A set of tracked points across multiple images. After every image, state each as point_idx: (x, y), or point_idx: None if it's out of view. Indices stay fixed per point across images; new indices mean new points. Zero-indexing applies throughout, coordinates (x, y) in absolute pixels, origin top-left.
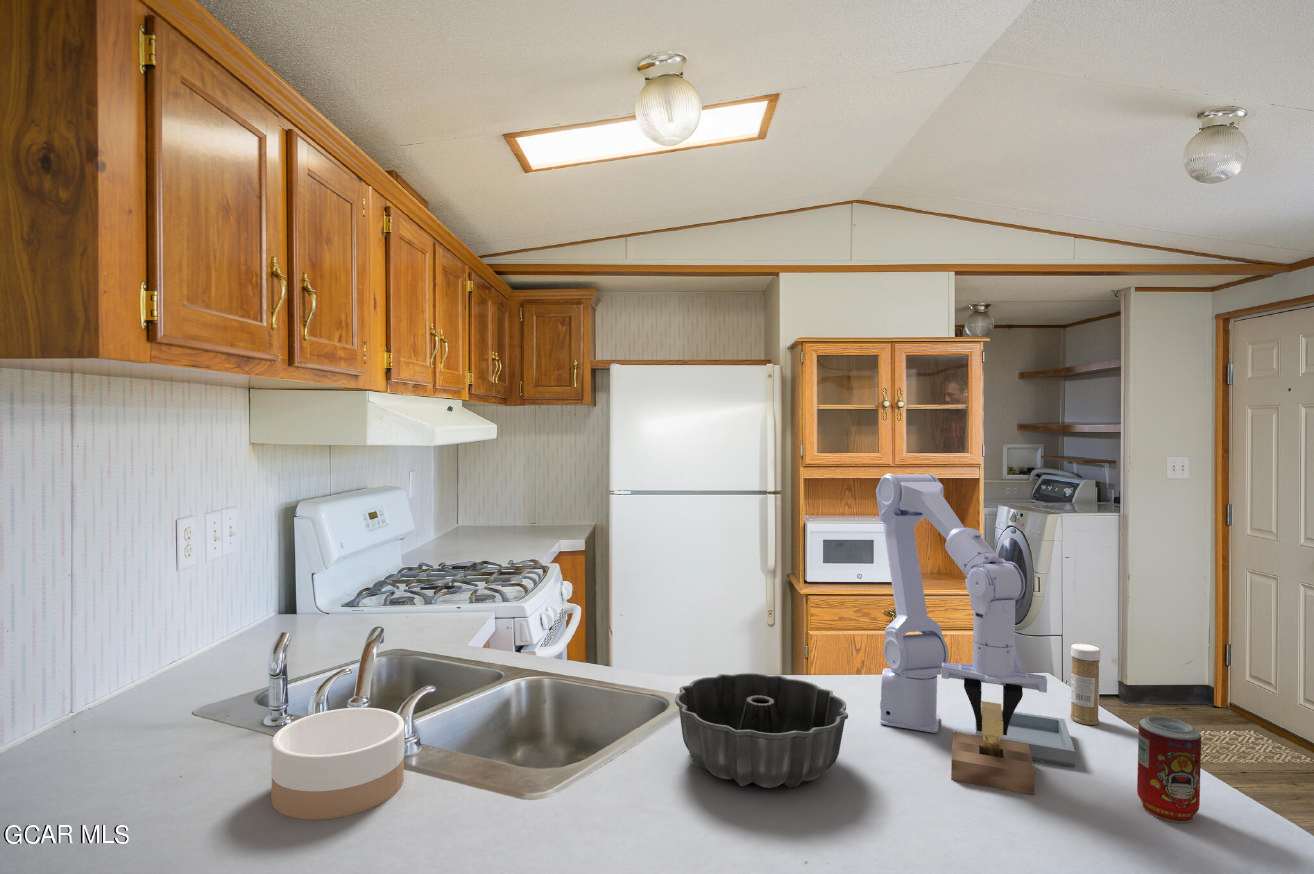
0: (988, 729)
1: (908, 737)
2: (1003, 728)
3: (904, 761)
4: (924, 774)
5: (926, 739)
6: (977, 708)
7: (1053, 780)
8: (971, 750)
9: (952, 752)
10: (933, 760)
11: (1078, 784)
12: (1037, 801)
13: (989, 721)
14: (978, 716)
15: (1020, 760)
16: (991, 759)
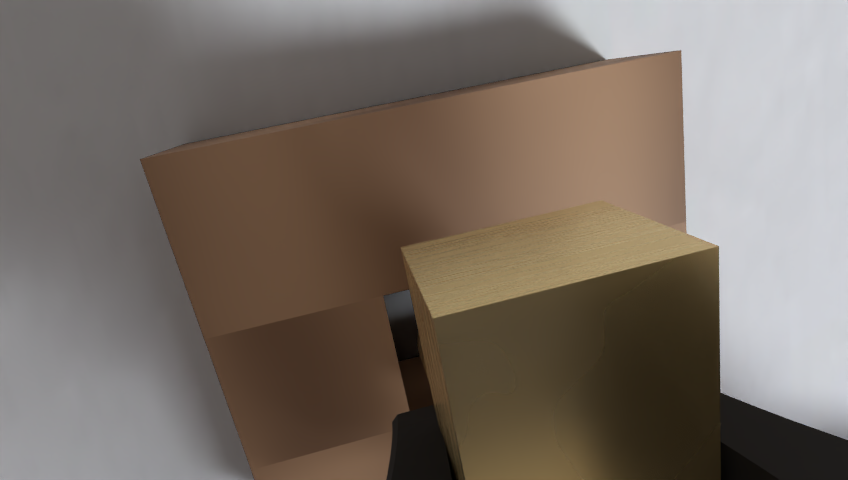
0: (568, 227)
1: (813, 407)
2: (429, 437)
3: (825, 136)
4: (732, 39)
5: None
6: (831, 470)
7: (146, 395)
8: None
9: (681, 173)
10: (702, 239)
11: (22, 432)
12: (146, 70)
13: (612, 266)
14: (722, 412)
15: (283, 329)
16: (450, 222)
